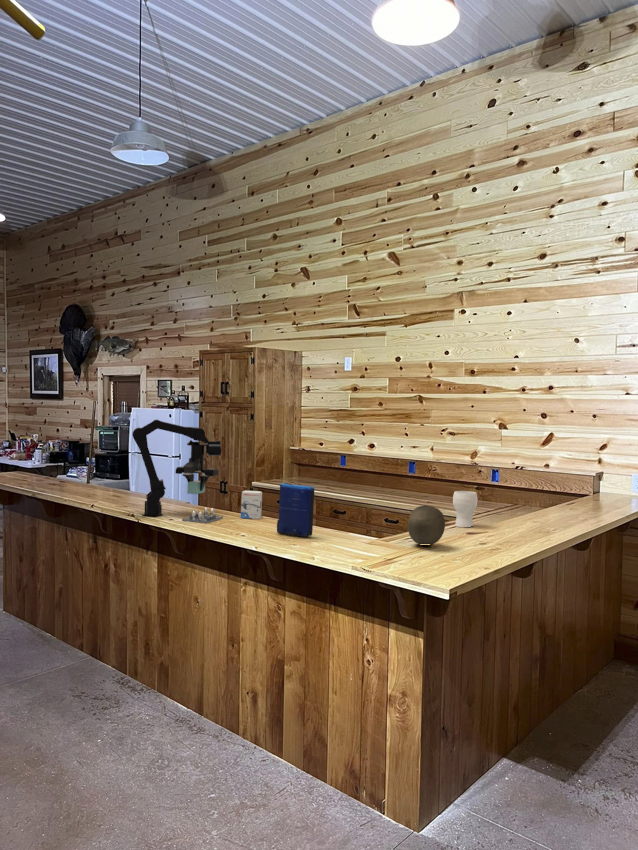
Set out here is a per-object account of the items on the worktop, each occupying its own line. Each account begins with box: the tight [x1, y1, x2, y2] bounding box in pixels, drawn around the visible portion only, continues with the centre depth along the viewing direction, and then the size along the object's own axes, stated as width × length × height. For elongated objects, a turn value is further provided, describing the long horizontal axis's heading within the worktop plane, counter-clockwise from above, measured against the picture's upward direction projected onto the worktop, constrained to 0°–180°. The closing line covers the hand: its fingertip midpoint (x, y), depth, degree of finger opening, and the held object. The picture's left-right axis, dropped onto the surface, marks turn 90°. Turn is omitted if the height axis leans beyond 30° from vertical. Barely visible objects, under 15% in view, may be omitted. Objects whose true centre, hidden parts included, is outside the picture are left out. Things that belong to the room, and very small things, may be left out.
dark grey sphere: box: [407, 504, 446, 545], centre depth 236 cm, size 14×14×15 cm
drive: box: [186, 480, 206, 495], centre depth 287 cm, size 4×8×5 cm, turn 162°
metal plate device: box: [181, 507, 224, 524], centre depth 276 cm, size 12×14×4 cm
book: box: [276, 482, 315, 538], centre depth 248 cm, size 14×5×20 cm, turn 62°
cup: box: [452, 490, 479, 528], centre depth 282 cm, size 11×11×15 cm
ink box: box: [240, 490, 263, 520], centre depth 284 cm, size 9×5×12 cm, turn 84°
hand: (196, 490), depth 287 cm, fingers closed on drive, 4 cm apart
